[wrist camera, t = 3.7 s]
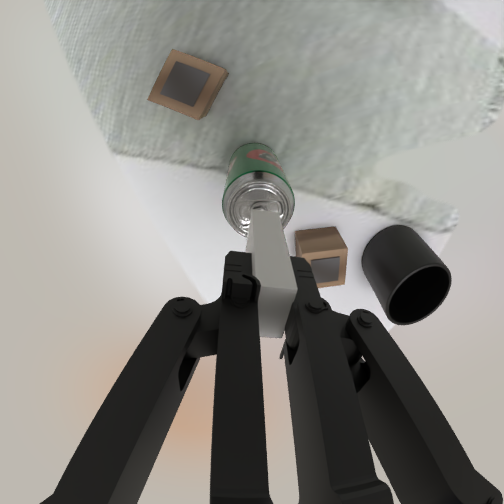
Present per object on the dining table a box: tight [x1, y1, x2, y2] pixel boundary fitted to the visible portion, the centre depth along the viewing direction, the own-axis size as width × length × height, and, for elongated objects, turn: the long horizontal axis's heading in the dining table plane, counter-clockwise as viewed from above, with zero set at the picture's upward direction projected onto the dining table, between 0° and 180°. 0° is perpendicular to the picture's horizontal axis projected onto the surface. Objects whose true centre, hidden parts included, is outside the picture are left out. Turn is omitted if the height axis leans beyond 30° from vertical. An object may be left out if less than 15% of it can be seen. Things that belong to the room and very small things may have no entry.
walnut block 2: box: [295, 227, 348, 288], centre depth 32 cm, size 5×5×5 cm
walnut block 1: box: [148, 49, 229, 120], centre depth 21 cm, size 5×5×5 cm
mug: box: [362, 226, 451, 325], centre depth 32 cm, size 9×12×9 cm
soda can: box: [222, 143, 295, 238], centre depth 23 cm, size 5×5×12 cm
